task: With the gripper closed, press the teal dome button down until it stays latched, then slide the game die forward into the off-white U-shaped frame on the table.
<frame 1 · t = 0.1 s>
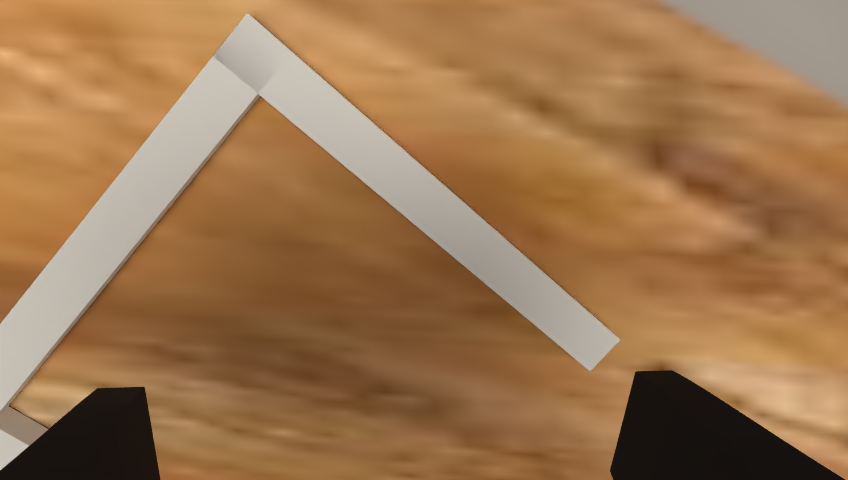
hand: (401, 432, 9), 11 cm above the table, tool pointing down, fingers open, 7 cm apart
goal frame: (310, 380, 20), on the table
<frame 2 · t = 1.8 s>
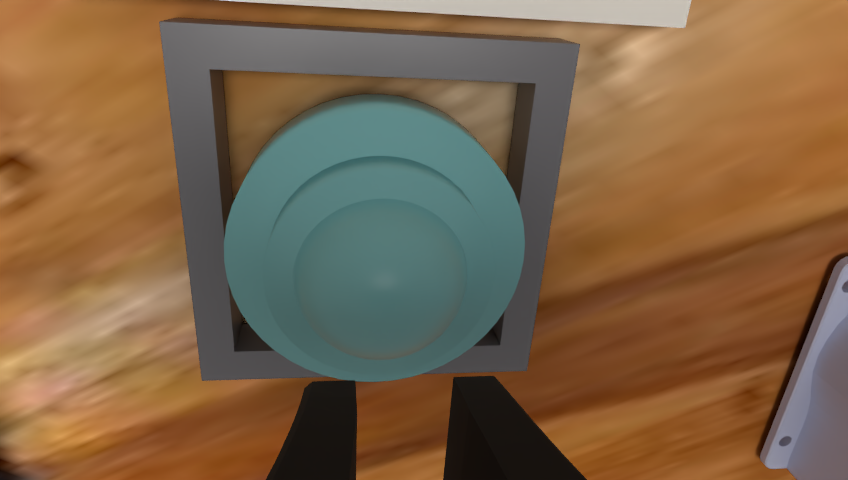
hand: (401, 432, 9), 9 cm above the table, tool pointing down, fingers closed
grey square frame: (372, 206, 17), on the table
dome: (380, 266, 14), point 4 cm above the table, slide at 0.0 cm
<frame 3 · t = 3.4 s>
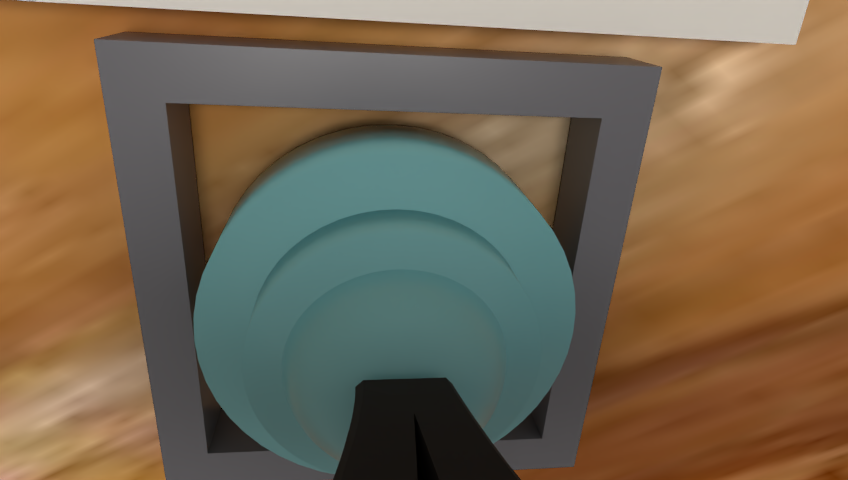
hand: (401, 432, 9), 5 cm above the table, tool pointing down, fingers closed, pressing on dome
grey square frame: (383, 268, 14), on the table
dome: (393, 346, 11), point 3 cm above the table, slide at 0.8 cm, touching gripper
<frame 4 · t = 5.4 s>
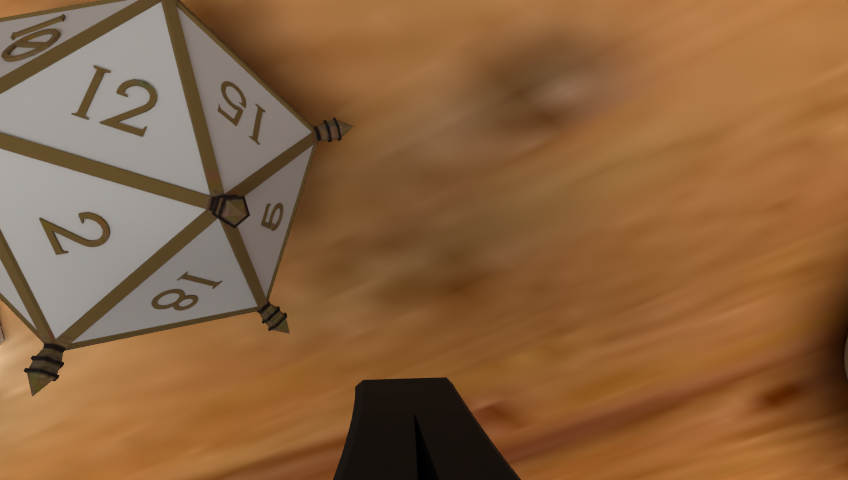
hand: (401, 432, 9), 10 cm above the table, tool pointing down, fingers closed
game die: (183, 130, 17), on the table
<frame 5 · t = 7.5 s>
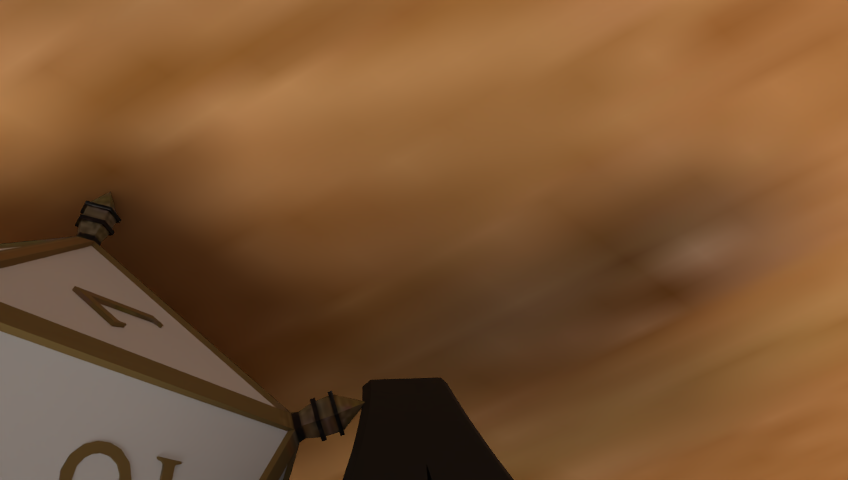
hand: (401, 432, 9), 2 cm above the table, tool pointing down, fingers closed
game die: (88, 341, 10), on the table, touching gripper
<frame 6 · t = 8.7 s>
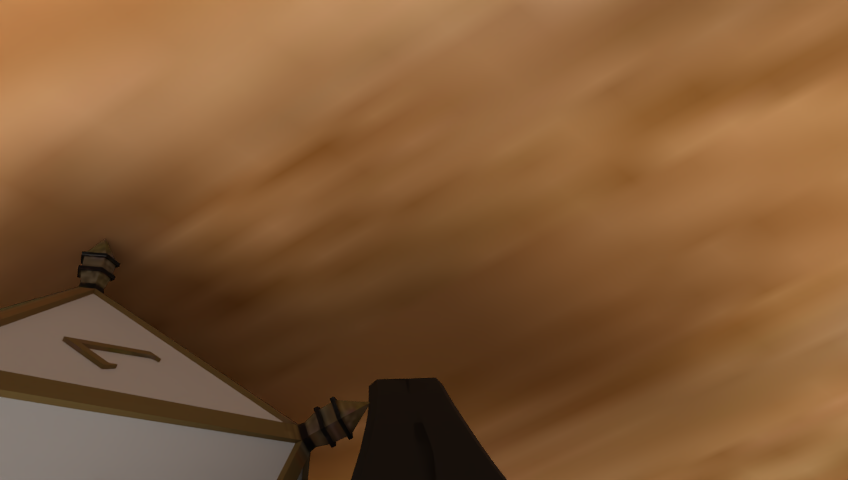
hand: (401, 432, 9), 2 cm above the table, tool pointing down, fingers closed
game die: (120, 383, 11), on the table, touching gripper
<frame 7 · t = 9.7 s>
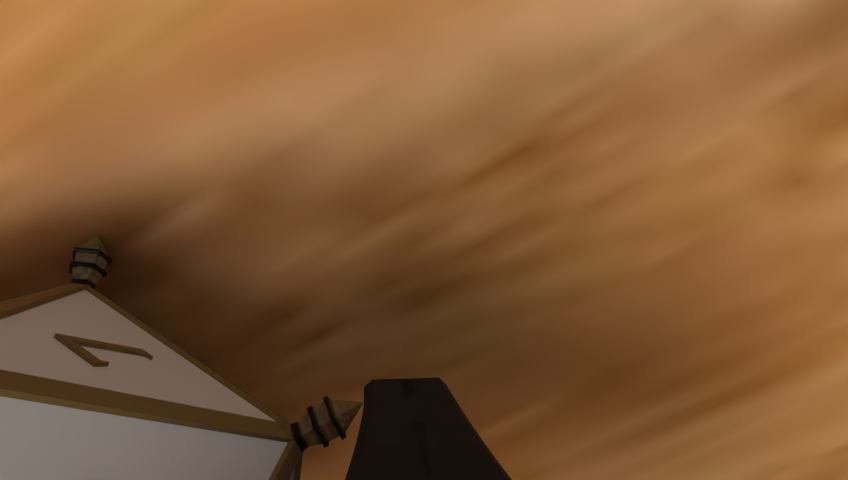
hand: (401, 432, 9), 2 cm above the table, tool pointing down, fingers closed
game die: (111, 379, 11), on the table, touching gripper
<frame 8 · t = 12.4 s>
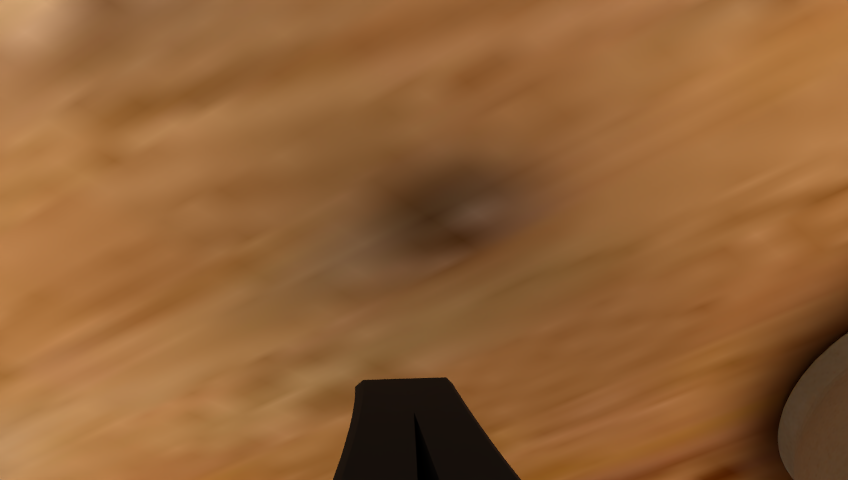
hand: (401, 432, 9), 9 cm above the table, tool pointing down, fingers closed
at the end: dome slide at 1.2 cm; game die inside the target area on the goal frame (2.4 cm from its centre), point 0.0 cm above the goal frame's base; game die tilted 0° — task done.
